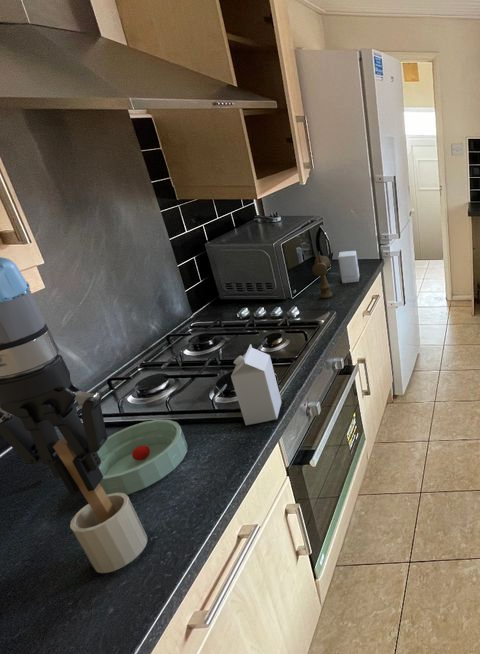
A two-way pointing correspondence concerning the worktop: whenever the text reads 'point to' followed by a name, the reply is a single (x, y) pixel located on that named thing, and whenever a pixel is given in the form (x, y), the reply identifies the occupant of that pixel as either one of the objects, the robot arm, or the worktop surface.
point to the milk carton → (256, 387)
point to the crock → (110, 535)
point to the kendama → (322, 274)
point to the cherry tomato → (141, 452)
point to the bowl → (139, 474)
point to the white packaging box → (348, 266)
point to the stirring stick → (95, 497)
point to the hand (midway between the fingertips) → (87, 485)
